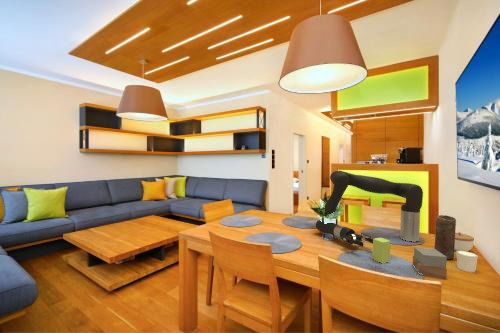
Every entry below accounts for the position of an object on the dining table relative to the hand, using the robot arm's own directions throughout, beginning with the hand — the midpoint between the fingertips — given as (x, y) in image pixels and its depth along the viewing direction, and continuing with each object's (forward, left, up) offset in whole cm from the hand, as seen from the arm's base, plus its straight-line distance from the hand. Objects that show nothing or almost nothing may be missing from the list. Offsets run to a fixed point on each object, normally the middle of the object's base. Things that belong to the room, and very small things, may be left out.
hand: (369, 243), depth 111 cm
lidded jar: (-25, +45, -6) cm, 52 cm away
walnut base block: (+9, +22, -6) cm, 24 cm away
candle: (-11, +34, -6) cm, 36 cm away
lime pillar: (+5, +5, -6) cm, 9 cm away
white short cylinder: (0, +38, -6) cm, 38 cm away
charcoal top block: (+9, +22, -2) cm, 24 cm away
